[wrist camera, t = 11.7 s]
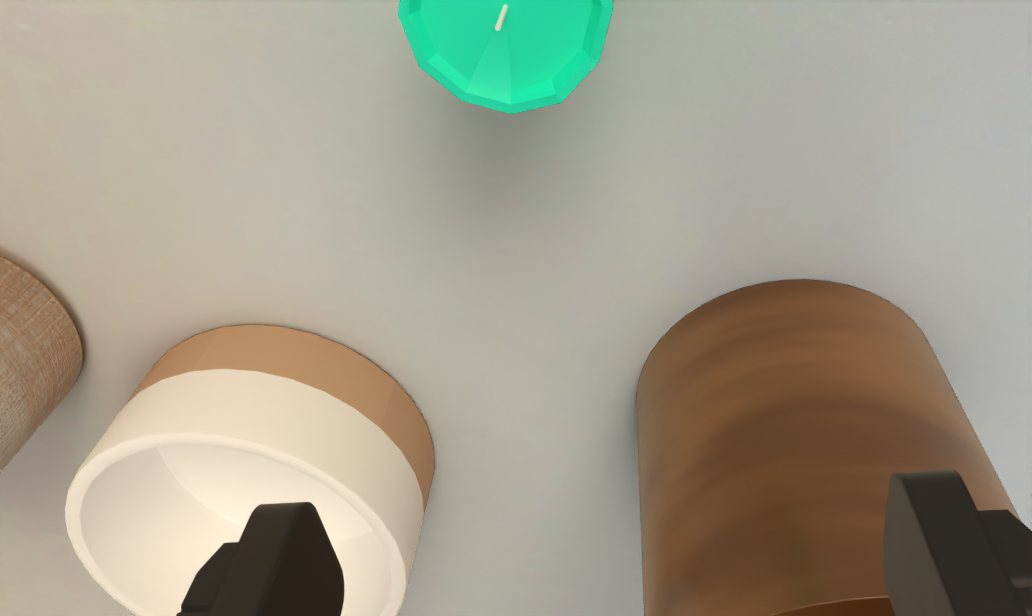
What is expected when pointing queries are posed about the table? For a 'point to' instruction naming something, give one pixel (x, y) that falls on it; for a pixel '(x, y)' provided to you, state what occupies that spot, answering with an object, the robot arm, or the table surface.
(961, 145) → the table surface
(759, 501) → the stand
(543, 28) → the candle
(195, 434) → the bowl
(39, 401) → the planter
